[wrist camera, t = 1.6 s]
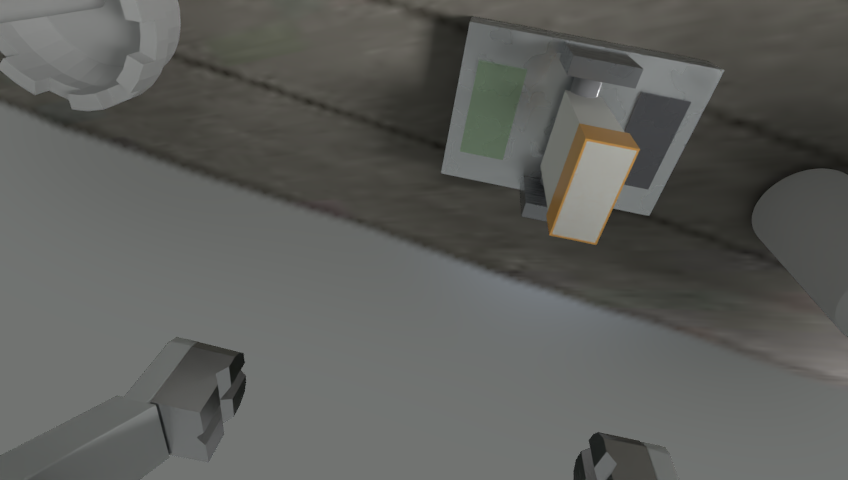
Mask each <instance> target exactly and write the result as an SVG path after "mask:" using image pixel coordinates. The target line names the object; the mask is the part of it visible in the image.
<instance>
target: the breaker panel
mask: <svg viewBox="0 0 848 480" xmlns="http://www.w3.org/2000/svg"><path fill="white" fill-rule="evenodd" d="M723 72H724V70H723V69H721V68H720V67H718V66H716V65H714V64H713V63H711V62H709V61H706V60H700V59H695V58H690V57H685V56H679V55H674V54H669V53H664V52H658V51H653V50H648V49H643V48H637V47H632V46H627V45H622V44H616V43H611V42H606V41H600V40H595V39H590V38H585V37H579V36H574V35H569V34H564V33H558V32H553V31H548V30H543V29H537V28H532V27H527V26H522V25H516V24H511V23H506V22H501V21H495V20H490V19H485V18H480V17H474V16H472V18H471V20H470V23H469V28H468V34H467V39H466V44H465V49H464V55H463V60H462V65H461V70H460V76H459V81H458V86H457V91H456V97H455V102H454V107H453V112H452V118H451V123H450V128H449V133H448V139H447V144H446V149H445V154H444V160H443V165H442V170H441V173H442V174H447V175H451V176H456V177H461V178H466V179H471V180H476V181H481V182H486V183H490V184H495V185H500V186H505V187H510V188H515V189H520V202H521V216H522V217H527V218H532V219H537V220H541V221H546V222H547V218H546V214H547V212H548V208H547V202H546V196H545V190H544V186H543V185H542V184H541V183H540V179H541V176H542V173H541V167H540V165H541V162H542V159H543V156H544V153H545V150H546V147H547V144H548V141H549V138H550V135H551V132H552V129H553V126H554V123H555V120H556V117H557V114H558V111H559V107H560V104H561V101H562V98H563V95H564V92H565V90H568V91H570V89H571V86H572V83H573V80H574V77H578V78H583V79H588V80H593V81H598V82H602V85H601V88H600V90H599V93H598V96H599V97H602V98H603V100H604V101H605V103H606V104H607V106H608V107H609V109H610V110H611V112H612V113H613V115H614V116H615V118H616V120H617V121H618V123H619V124H620V126H621V127H622V129H623V130H624V132H625V133H630V135H631V136H632V138H633V139H634V141H635V142H636V144H637V145H638V147H639V148H640V151H639V153H638V155H637V157H636V159H635V162H634V164H633V166H632V168H631V170H630V173H629V175H628V177H627V179H626V181H625V183H624V186H623V188H622V190H621V192H620V194H619V197H618V199H617V201H616V203H615V205H614V208H613V209H618V210H622V211H627V212H632V213H637V214H642V215H647V216H649V215H650V213H651V212H652V210H653V208H654V206H655V204H656V202H657V200H658V198H659V196H660V194H661V192H662V190H663V188H664V186H665V184H666V183H667V181H668V179H669V177H670V175H671V173H672V171H673V169H674V167H675V165H676V163H677V161H678V159H679V157H680V155H681V154H682V152H683V150H684V148H685V146H686V144H687V142H688V140H689V138H690V136H691V134H692V132H693V130H694V128H695V126H696V124H697V123H698V121H699V119H700V117H701V115H702V113H703V111H704V109H705V107H706V105H707V103H708V101H709V99H710V97H711V95H712V94H713V92H714V90H715V88H716V86H717V84H718V82H719V80H720V78H721V76H722V74H723Z"/></svg>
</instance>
